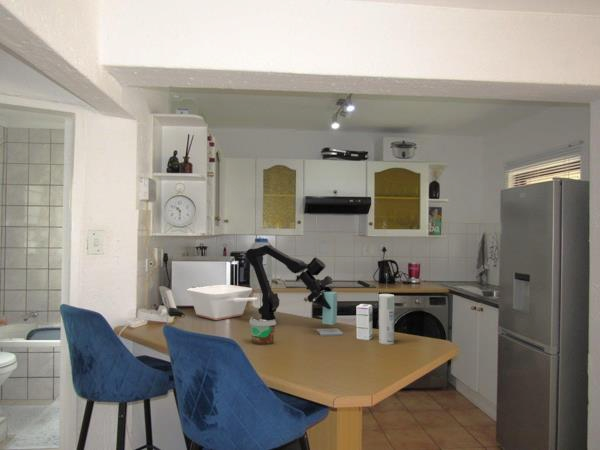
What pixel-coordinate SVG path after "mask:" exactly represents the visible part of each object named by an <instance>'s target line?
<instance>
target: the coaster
mask: <svg viewBox="0 0 600 450" xmlns="http://www.w3.org/2000/svg"><path fill="white" fill-rule="evenodd" d="M316 331H317V332H318V334H319V335H320V336H321V337H332V336H333V337H334V336H344V333H343V331H342V330H340V329H339V328H333V327H332V328H316Z"/></svg>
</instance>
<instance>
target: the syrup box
mask: <svg viewBox="0 0 600 450" xmlns="http://www.w3.org/2000/svg"><path fill="white" fill-rule="evenodd" d="M355 314H356V316H355V317H356V318H355V319H356V339H357V340H361V341H363V340H364V341H370V340H371V339H372V338H373V337H374V336H373V305H372V304H369V303H360V304H359V305H357V306H356V313H355Z"/></svg>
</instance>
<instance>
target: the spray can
mask: <svg viewBox="0 0 600 450" xmlns="http://www.w3.org/2000/svg"><path fill="white" fill-rule="evenodd" d="M378 343H379V344H381V345H392V344H394V343H395V295H394V294H391V293H380V294H378Z"/></svg>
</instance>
